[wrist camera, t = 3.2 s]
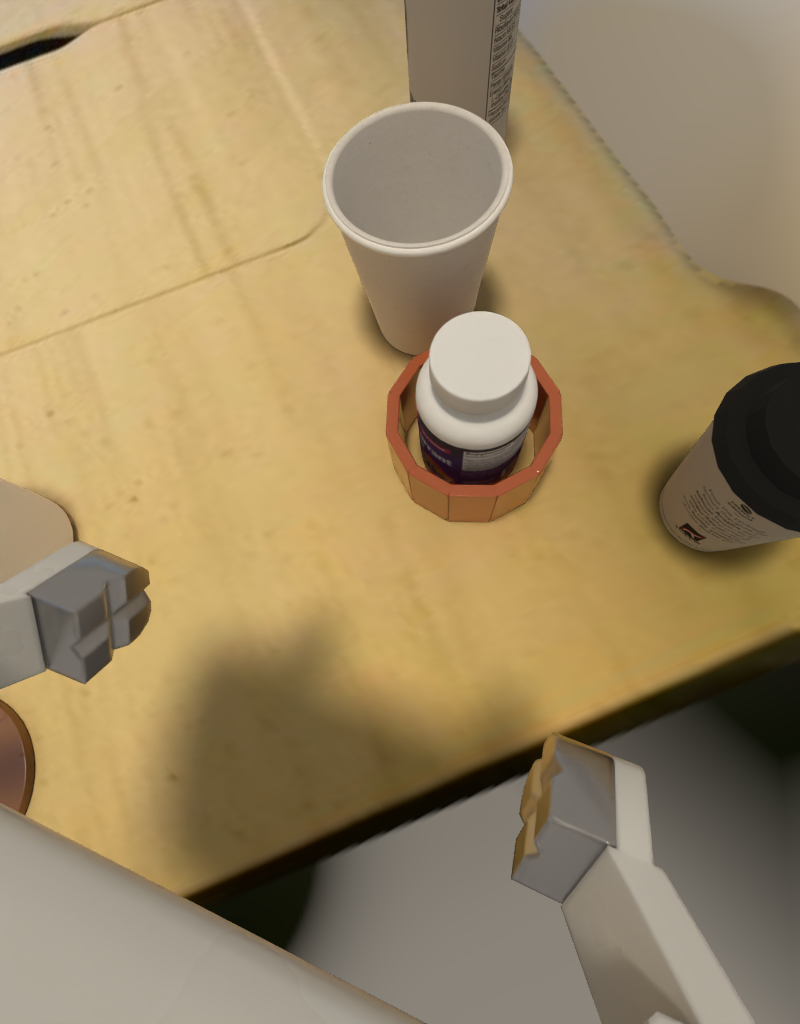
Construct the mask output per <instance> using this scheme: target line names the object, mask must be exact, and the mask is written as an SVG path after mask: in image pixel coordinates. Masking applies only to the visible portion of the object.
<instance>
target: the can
mask: <svg viewBox="0 0 800 1024" xmlns="http://www.w3.org/2000/svg"><path fill="white" fill-rule="evenodd" d="M71 542H73V530H72V526H71V523H70V520H69V518H68V516H67V515H66V513H65V512H64V511H63V509H62V508H61V507H60V506H58V505H57V504H56V503H54V502H53V501H51V500H49V499H47V498H45V497H43V496H41V495H38V494H36V493H34V492H31V491H29V490H27V489H24V488H22V487H20V486H17V485H15V484H13V483H11V482H8V481H6V480H3V479H1V478H0V583H3V582H5V581H7V580H8V579H10V578H12V577H13V576H15V575H17V574H18V573H20V572H22V571H23V570H25V569H27V568H28V567H30V566H32V565H34V564H35V563H37V562H39V561H40V560H42V559H44V558H45V557H47V556H49V555H50V554H52V553H54V552H55V551H57V550H59V549H61V548H62V547H64V546H66V545H67V544H69V543H71Z"/></svg>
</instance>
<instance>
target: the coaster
mask: <svg viewBox="0 0 800 1024" xmlns="http://www.w3.org/2000/svg"><path fill="white" fill-rule="evenodd" d="M33 781H34V755H33V749H32V744H31V741H30V738H29V735H28V732H27V730H26V728H25V726H24V724H23V723H22V721H21V720H20V718H19V717H18V716H17V714H16V713H15V712H14V711H13V710H12V709H11V708H10V707H9V706H7V705H6V704H4V703H3V702H2V701H0V803H2V804H4V805H6V806H7V807H9V808H11V809H13V810H15V811H17V812H19V813H21V814H23V815H24V814H25V812H26V809H27V806H28V804H29V800H30V796H31V792H32V787H33Z"/></svg>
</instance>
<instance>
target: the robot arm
mask: <svg viewBox="0 0 800 1024" xmlns="http://www.w3.org/2000/svg"><path fill="white" fill-rule="evenodd" d="M149 584H150V581H149V572H148V570H146V569H144V568H143V567H141V566H138V565H136V564H134V563H132V562H129V561H127V560H125V559H122V558H120V557H118V556H116V555H113V554H111V553H109V552H106V551H104V550H102V549H99V548H96V547H94V546H92V545H89V544H87V543H85V542H82V541H77V542H71V543H69V544H67V545H66V546H64V547H62V548H61V549H59V550H57V551H55V552H54V553H52V554H50V555H49V556H47V557H45V558H44V559H42V560H40V561H39V562H37V563H35V564H34V565H32V566H30V567H28V568H27V569H25V570H23V571H22V572H20V573H18V574H17V575H15V576H13V577H12V578H10V579H8V580H7V581H5V582H3V583H0V689H2V688H4V687H7V686H9V685H12V684H14V683H17V682H19V681H22V680H24V679H27V678H29V677H32V676H34V675H37V674H39V673H42V672H44V671H46V668H47V669H49V670H52V671H54V672H56V673H59V674H61V675H64V676H66V677H68V678H71V679H73V680H76V681H78V682H80V683H83V684H86V683H87V682H88V681H89V680H90V679H91V678H92V677H94V676H95V675H96V674H97V673H98V672H99V671H100V670H101V669H103V668H104V667H105V666H106V665H107V664H108V663H109V662H110V661H112V657H113V651H114V649H117V648H120V647H124V646H127V645H129V644H131V643H132V642H133V641H134V640H135V639H136V638H137V637H138V636H139V635H140V634H141V632H142V631H143V629H144V628H145V626H146V624H147V623H148V621H149V617H150V613H151V601H150V599H149V598H148V596H147V594H146V593H145V591H144V589H145V588H146V587H147V586H148V585H149ZM520 817H521V819H522V821H523V823H524V826H523V828H522V830H521V831H520V833H519V835H518V837H517V838H516V844H515V851H514V860H513V868H512V876H511V879H512V880H514V881H516V882H518V883H520V884H523V885H524V886H527V887H529V888H530V889H533V890H535V891H537V892H539V893H541V894H543V895H545V896H547V897H549V898H551V899H553V900H555V901H557V902H559V903H561V904H562V905H561V909H562V911H563V914H564V917H565V920H566V923H567V926H568V929H569V931H570V934H571V937H572V940H573V943H574V946H575V949H576V951H577V954H578V957H579V960H580V963H581V965H582V968H583V971H584V974H585V977H586V980H587V983H588V986H589V988H590V991H591V994H592V997H593V1000H594V1003H595V1006H596V1008H597V1011H598V1014H599V1017H600V1020H601V1022H602V1024H755V1022H754V1021H753V1019H752V1017H751V1016H750V1014H749V1012H748V1010H747V1009H746V1007H745V1005H744V1004H743V1002H742V1000H741V999H740V997H739V995H738V994H737V992H736V990H735V989H734V987H733V985H732V984H731V982H730V980H729V979H728V977H727V975H726V974H725V972H724V970H723V969H722V967H721V965H720V964H719V962H718V960H717V959H716V957H715V955H714V954H713V952H712V950H711V949H710V947H709V945H708V943H707V942H706V940H705V939H704V937H703V935H702V933H701V932H700V930H699V928H698V927H697V925H696V924H695V922H694V920H693V918H692V917H691V915H690V913H689V912H688V910H687V908H686V907H685V905H684V903H683V902H682V900H681V898H680V897H679V895H678V893H677V892H676V890H675V888H674V887H673V885H672V883H671V882H670V880H669V878H668V876H667V875H666V873H665V871H664V870H663V869H661V868H659V867H657V866H654V862H653V852H652V842H651V831H650V820H649V810H648V798H647V788H646V778H645V772H644V771H643V769H642V767H640V766H638V765H635V764H632V763H630V762H627V761H625V760H622V759H620V758H617V757H614V756H612V755H611V756H610V755H609V754H608V753H605V752H603V751H600V750H597V749H595V748H593V747H590V746H587V745H585V744H582V743H580V742H577V741H575V740H572V739H569V738H567V737H564V736H562V735H559V734H557V733H554V732H553V733H552V734H551V735H549V737H548V739H547V740H546V742H545V744H544V748H543V757H542V759H539V760H536V761H535V762H534V764H533V766H532V768H531V770H530V772H529V775H528V778H527V781H526V784H525V786H524V791H523V795H522V800H521V807H520ZM0 1024H426V1023H424V1022H422V1021H420V1020H419V1019H417V1018H415V1017H413V1016H410V1015H409V1014H407V1013H405V1012H403V1011H401V1010H399V1009H397V1008H395V1007H393V1006H391V1005H390V1004H388V1003H386V1002H384V1001H382V1000H380V999H378V998H376V997H374V996H372V995H370V994H368V993H366V992H364V991H363V990H361V989H359V988H357V987H355V986H353V985H351V984H349V983H347V982H345V981H343V980H341V979H339V978H337V977H336V976H334V975H332V974H330V973H328V972H326V971H324V970H322V969H320V968H318V967H316V966H314V965H312V964H310V963H308V962H307V961H305V960H303V959H301V958H299V957H297V956H295V955H293V954H291V953H289V952H287V951H285V950H284V949H282V948H280V947H278V946H276V945H274V944H272V943H270V942H268V941H266V940H264V939H262V938H260V937H258V936H256V935H255V934H253V933H251V932H249V931H247V930H245V929H243V928H241V927H239V926H237V925H235V924H233V923H231V922H229V921H228V920H226V919H224V918H222V917H220V916H218V915H216V914H214V913H212V912H210V911H208V910H206V909H204V908H202V907H201V906H199V905H197V904H195V903H193V902H191V901H189V900H187V899H185V898H183V897H181V896H179V895H177V894H175V893H174V892H172V891H170V890H168V889H166V888H164V887H162V886H160V885H158V884H156V883H154V882H152V881H150V880H148V879H147V878H145V877H143V876H141V875H139V874H137V873H135V872H133V871H131V870H129V869H127V868H125V867H123V866H121V865H119V864H118V863H116V862H114V861H112V860H110V859H108V858H106V857H104V856H102V855H100V854H98V853H96V852H94V851H92V850H91V849H89V848H87V847H85V846H83V845H81V844H79V843H77V842H75V841H73V840H71V839H69V838H67V837H65V836H64V835H62V834H60V833H58V832H56V831H54V830H52V829H50V828H48V827H46V826H44V825H42V824H40V823H38V822H36V821H35V820H33V819H31V818H29V817H27V816H25V815H23V814H21V813H19V812H17V811H15V810H13V809H11V808H9V807H7V806H6V805H4V804H2V803H0Z"/></svg>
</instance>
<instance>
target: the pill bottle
mask: <svg viewBox="0 0 800 1024" xmlns="http://www.w3.org/2000/svg"><path fill="white" fill-rule="evenodd" d="M530 363H531V350H530V345H529V342H528V340H527V337H526V336H525V334H524V332H523V331H522V330H521V329H520V327H519V326H518V325H517V324H515V323H514V322H513V321H511V320H510V319H508V318H506V317H504V316H502V315H500V314H496V313H492V312H486V311H474V312H469V313H465V314H462V315H459V316H457V317H455V318H453V319H451V320H450V321H448V322H447V323H446V324H444V325H443V326H442V327H441V328H440V330H439V331H438V332H437V334H436V335H435V337H434V339H433V341H432V344H431V347H430V351H429V358H428V359H427V360H426V362H425V363H424V365H423V367H422V368H421V371H420V373H419V376H418V379H417V384H416V396H415V399H416V408H417V418H418V426H419V436H420V445H421V452H422V456H423V460H424V462H425V465H426V466H427V468H428V470H429V471H430V473H432V474H434V475H436V476H438V477H439V478H441V479H443V480H445V481H447V482H448V483H450V484H452V485H495V484H497V483H499V482H501V481H502V480H503V479H505V478H506V477H507V475H508V474H509V473H510V471H511V470H512V468H513V467H514V465H515V463H516V460H517V458H518V455H519V453H520V450H521V447H522V445H523V442H524V439H525V437H526V434H527V431H528V428H529V425H530V423H531V420H532V417H533V414H534V411H535V408H536V403H537V398H538V385H537V380H536V376H535V373H534V370H533V368H532V366H531V364H530Z"/></svg>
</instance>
